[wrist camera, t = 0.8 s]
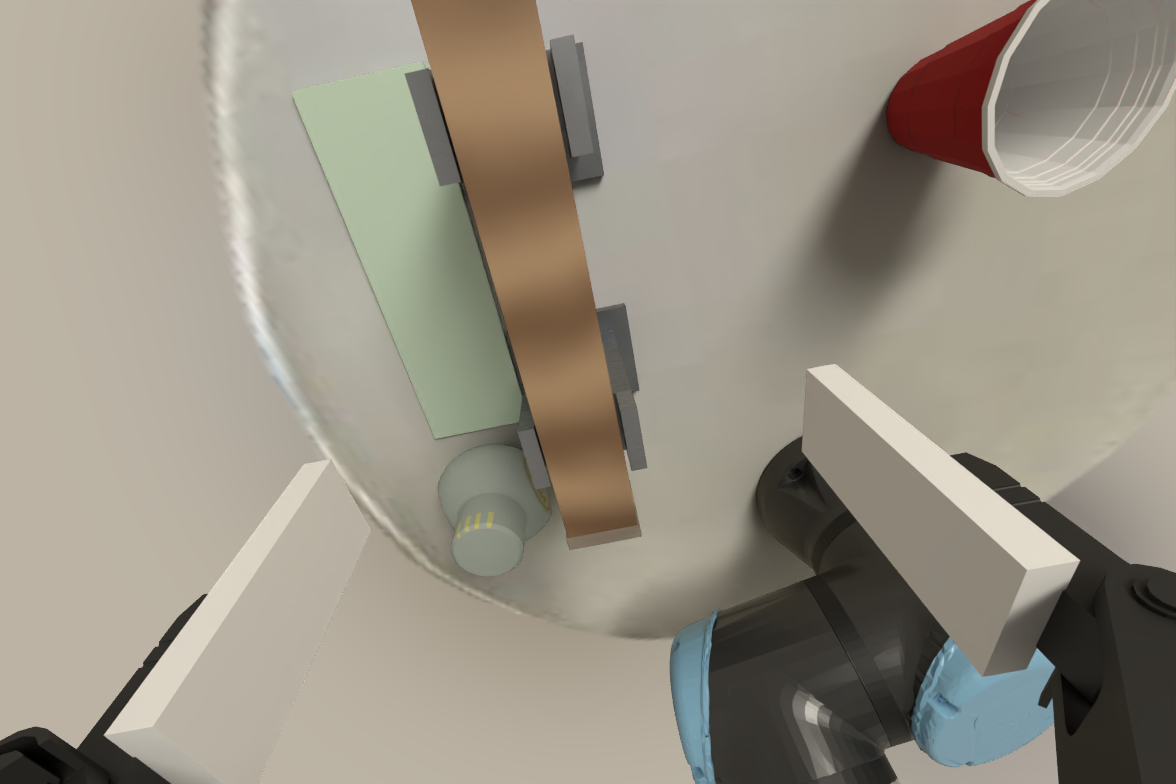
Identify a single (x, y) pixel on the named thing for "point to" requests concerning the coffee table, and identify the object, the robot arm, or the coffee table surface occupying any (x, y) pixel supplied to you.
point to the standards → (582, 164)
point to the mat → (414, 249)
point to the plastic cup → (1043, 92)
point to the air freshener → (491, 508)
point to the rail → (533, 247)
